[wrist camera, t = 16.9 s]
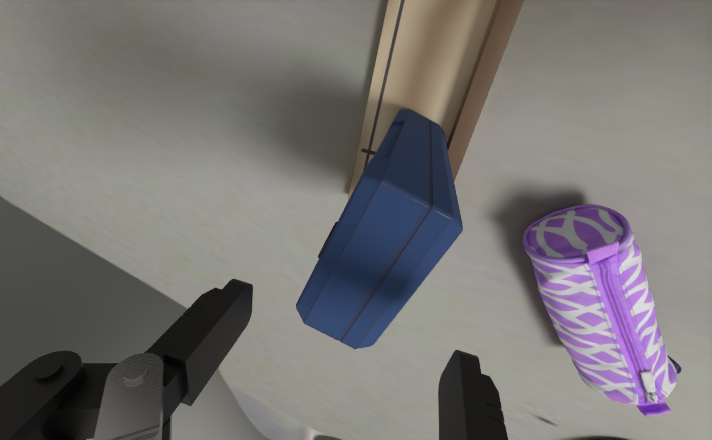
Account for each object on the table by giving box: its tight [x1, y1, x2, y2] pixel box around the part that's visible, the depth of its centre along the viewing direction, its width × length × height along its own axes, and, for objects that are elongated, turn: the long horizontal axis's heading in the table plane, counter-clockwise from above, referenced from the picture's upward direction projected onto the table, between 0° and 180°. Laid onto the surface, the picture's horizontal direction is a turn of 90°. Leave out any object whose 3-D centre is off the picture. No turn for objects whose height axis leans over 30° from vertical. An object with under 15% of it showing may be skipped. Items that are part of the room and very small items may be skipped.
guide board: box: [348, 0, 524, 200], centre depth 26 cm, size 10×32×4 cm, turn 169°
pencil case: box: [523, 205, 681, 416], centre depth 31 cm, size 22×9×10 cm, turn 33°
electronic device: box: [296, 109, 463, 349], centre depth 23 cm, size 10×5×20 cm, turn 155°
